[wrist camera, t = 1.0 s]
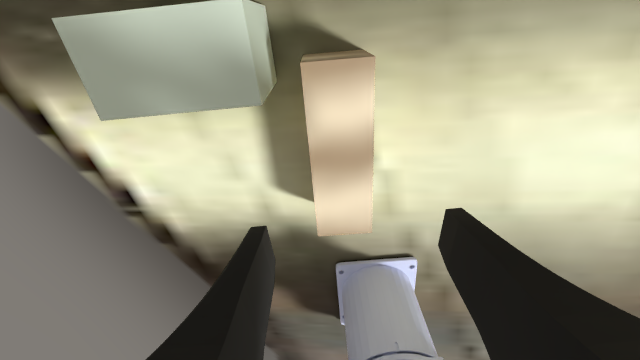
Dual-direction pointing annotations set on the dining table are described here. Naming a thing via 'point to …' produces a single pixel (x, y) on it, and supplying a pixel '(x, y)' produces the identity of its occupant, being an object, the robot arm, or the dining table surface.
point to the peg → (340, 138)
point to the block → (172, 57)
